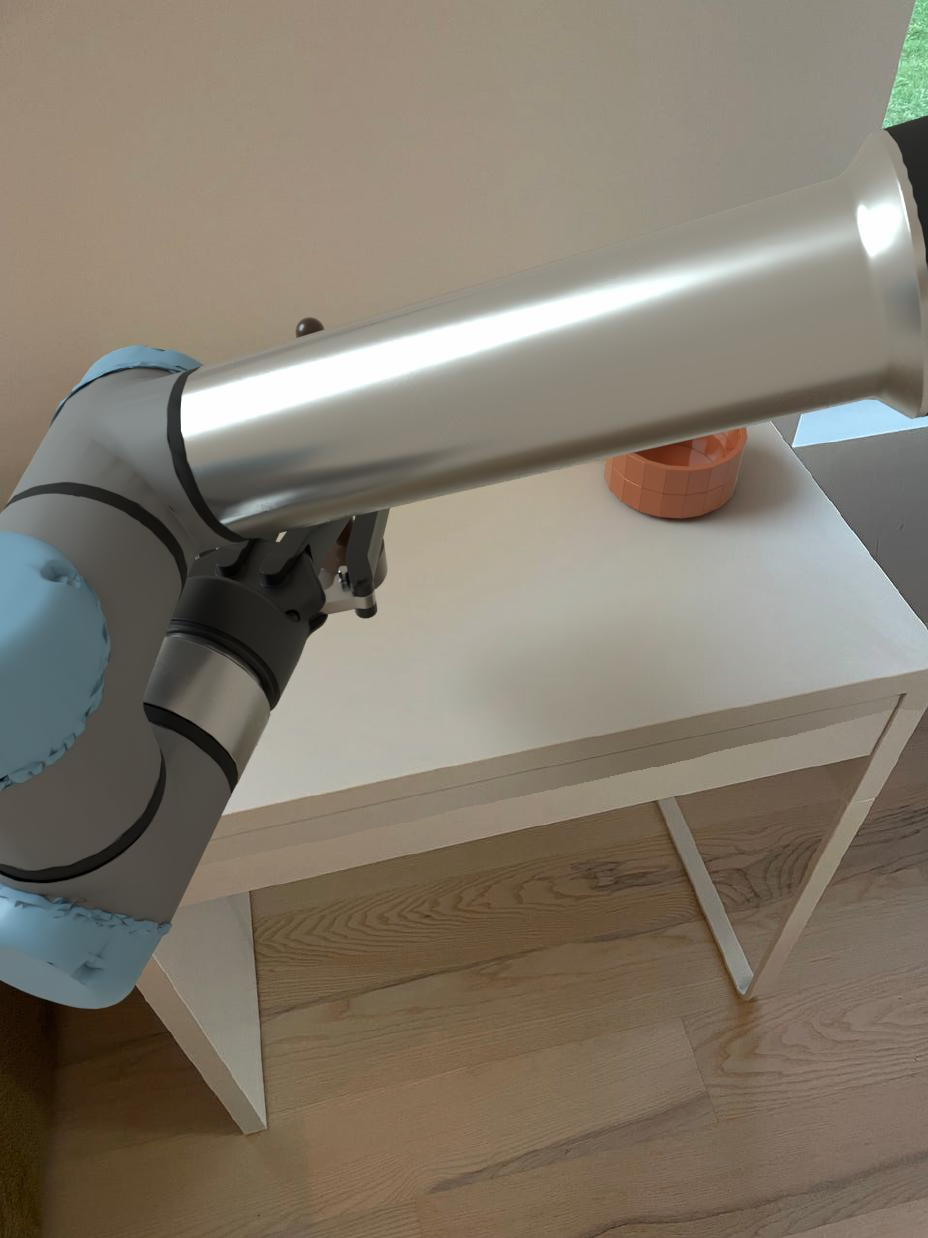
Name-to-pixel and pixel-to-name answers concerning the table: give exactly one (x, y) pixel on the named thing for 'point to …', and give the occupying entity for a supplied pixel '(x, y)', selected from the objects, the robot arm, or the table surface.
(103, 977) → the robot arm
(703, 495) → the bowl
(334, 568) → the dark brown post
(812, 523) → the table surface
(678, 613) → the table surface
